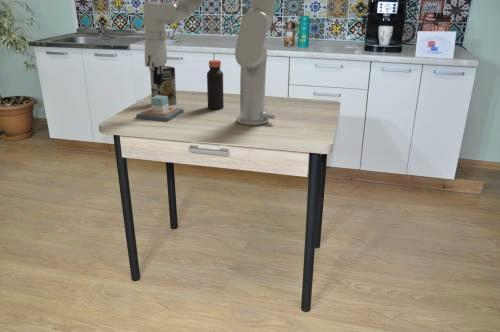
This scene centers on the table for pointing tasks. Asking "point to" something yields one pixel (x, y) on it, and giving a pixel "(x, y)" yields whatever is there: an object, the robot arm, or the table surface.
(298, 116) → the table surface
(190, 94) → the table surface
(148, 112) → the slate plate
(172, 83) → the coffee box
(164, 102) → the brick stack
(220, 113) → the table surface
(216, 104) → the bottle
